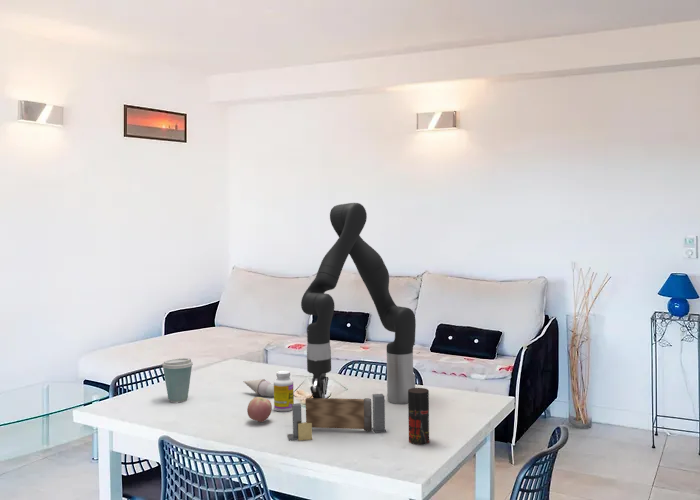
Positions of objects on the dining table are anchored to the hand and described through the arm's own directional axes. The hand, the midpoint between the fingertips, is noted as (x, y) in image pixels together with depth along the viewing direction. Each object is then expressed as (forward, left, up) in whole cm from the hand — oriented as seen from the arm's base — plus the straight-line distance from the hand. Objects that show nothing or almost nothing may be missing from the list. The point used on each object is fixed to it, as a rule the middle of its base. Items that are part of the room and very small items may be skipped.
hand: (320, 410), depth 214 cm
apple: (+18, -8, -5) cm, 21 cm away
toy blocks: (+8, +10, -5) cm, 14 cm away
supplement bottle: (+9, -20, -5) cm, 23 cm away
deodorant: (-26, +22, -5) cm, 34 cm away
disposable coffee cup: (+45, -41, -5) cm, 62 cm away
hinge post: (-17, +10, -5) cm, 20 cm away
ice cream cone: (+16, -40, -5) cm, 44 cm away
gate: (-5, +7, -4) cm, 9 cm away
